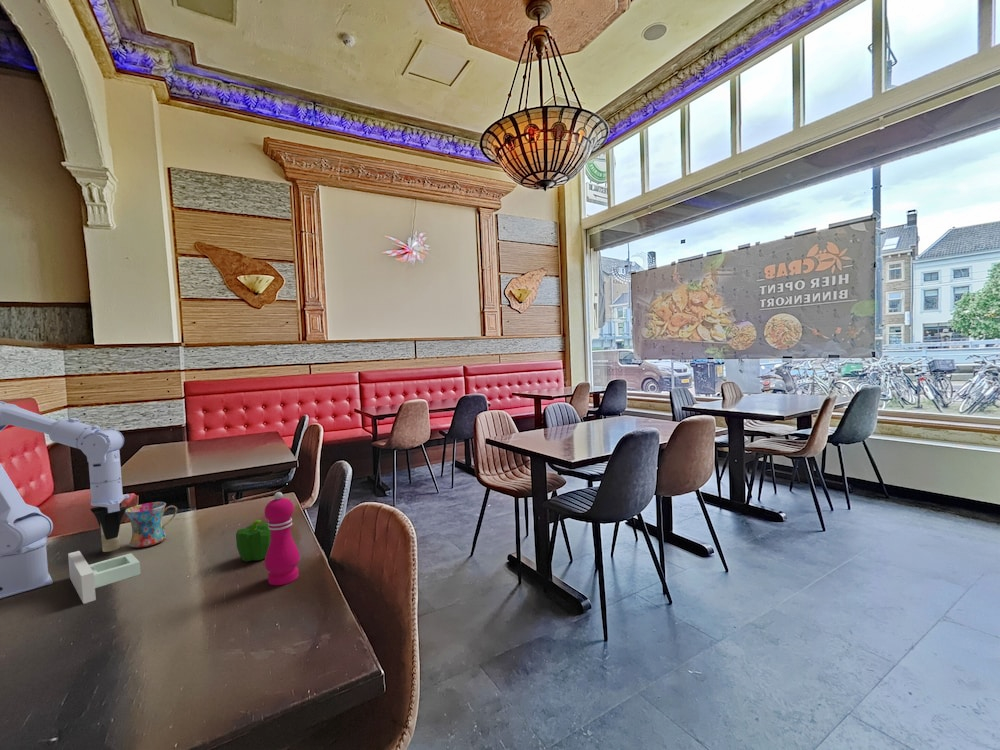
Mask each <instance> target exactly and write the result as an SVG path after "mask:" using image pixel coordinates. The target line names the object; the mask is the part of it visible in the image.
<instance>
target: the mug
mask: <svg viewBox="0 0 1000 750" xmlns="http://www.w3.org/2000/svg"><path fill="white" fill-rule="evenodd" d="M166 505H167V503H166V502H164V501H155V502H154V501H153V502H147V503H141V504H138V505H134V506H131V507H128V508H126V511H125V512H124V514H126V516H127V518H128V519H129V521H130V524H131V529H132V530H131V531H132V536H131V539H130V542H129V547H131V548H135V549H137V548H147V547H151V546H155V545H158V544H159V543H161V542H164V541H165V540H167V534H166V533H165V531H164V530H167V528H166V526H167V525H168V524H169V523H171V522H172V521H173V519H174V518H175V517H176V515H177V512H178V507H177V506H175V505H169V506H166ZM169 508H174V509H175V511H174V513H173V515H172V517H170V519H168V521H167V522H165V523H164V524H163V523H162V522H163V520H162V519H163V516H164V515H165V512H166V511H167V510H168V509H169Z"/></svg>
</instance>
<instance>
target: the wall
mask: <svg viewBox="0 0 1000 750" xmlns="http://www.w3.org/2000/svg"><path fill="white" fill-rule="evenodd" d="M67 556H68V571H69V579H70V580H71V583H72V584H73V587H74V588H75V591H76V592H77V594H78V596H79V599H80V600H81V602H82V604H83V605H84V604H88V603H90V602H94V601H97V597H96V588H95V582H94V572H93V571H92V569H91V568H90V566H89V565H90V564H89V563H88V562H87V560H86V559H85V557H84V555H83V554H82V552H81V551H80V550H77V551H73V552H72V551H71V552H69V553H67Z"/></svg>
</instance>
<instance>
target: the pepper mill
mask: <svg viewBox="0 0 1000 750" xmlns="http://www.w3.org/2000/svg"><path fill="white" fill-rule="evenodd" d="M283 496H284V495H283V493H282V492H281V491H277V492H276V493H274V495H273V499H272V500H271V501H269V502H268V503H267V504H266V506H265V508H264V518H266V519H267V521H268V522H267V524H268V529H270V532H271V541H270V545H269V548H268V551H267V554H266V557H265V558H264V567H265V570H267V571H268V572H269V573H268V574H267V581H268V584H269V585H271V586H283V585H288V584H290V583H292V582H294V581H296V580H297V579H298V578H299V576H300V575H299V568H298V566H297V565H298V564H299V562H300V560H301V559H300V558H301V557H300V550H299V549H298V547H297V545H296V543H295V541H294V539H293V536H292V531H291V529H292V525H293V522H292V521H293V518H292V517H291V516H292V515H293V514H294V511H295V506H294V504H293V502H292V501H291V500H290V499H289V498H284V497H283Z"/></svg>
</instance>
